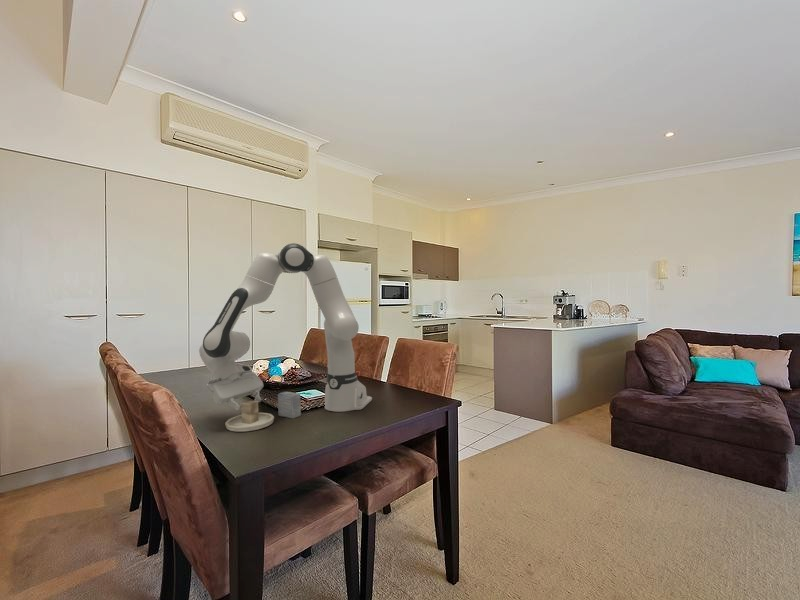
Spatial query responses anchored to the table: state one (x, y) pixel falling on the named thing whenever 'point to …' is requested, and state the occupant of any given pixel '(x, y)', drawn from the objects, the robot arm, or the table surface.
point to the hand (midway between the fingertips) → (249, 405)
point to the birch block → (249, 412)
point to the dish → (238, 426)
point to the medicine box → (289, 404)
